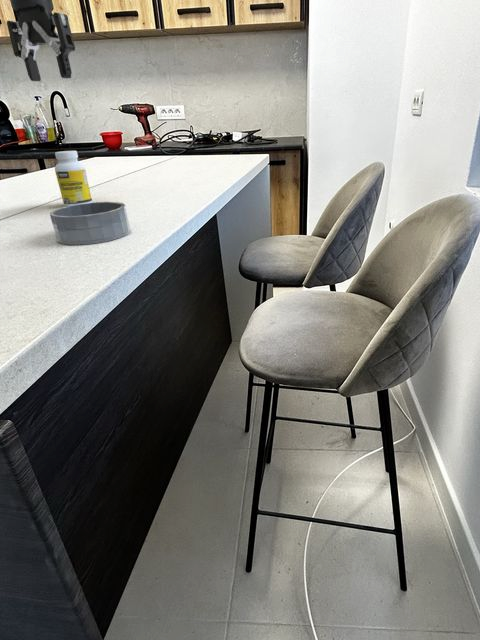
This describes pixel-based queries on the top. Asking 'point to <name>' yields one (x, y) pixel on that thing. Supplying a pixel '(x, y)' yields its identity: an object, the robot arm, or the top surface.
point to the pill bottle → (72, 179)
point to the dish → (90, 223)
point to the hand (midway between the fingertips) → (51, 79)
